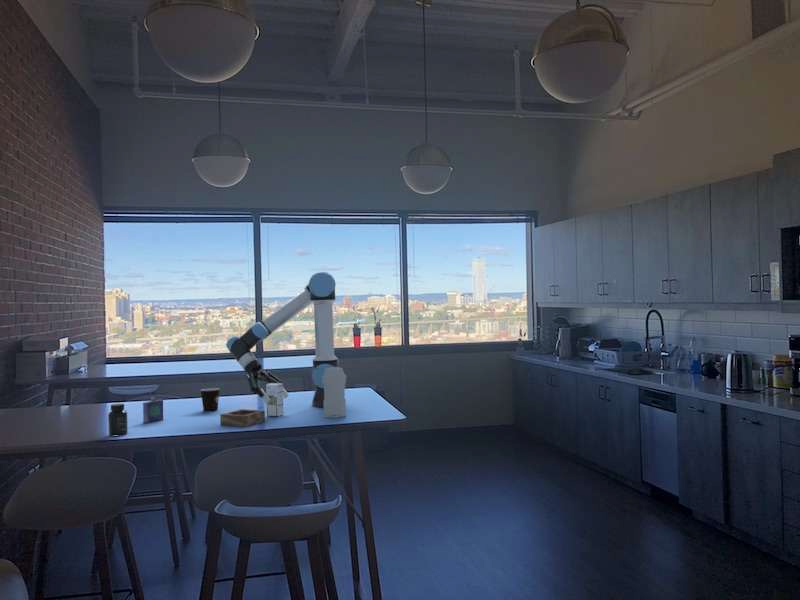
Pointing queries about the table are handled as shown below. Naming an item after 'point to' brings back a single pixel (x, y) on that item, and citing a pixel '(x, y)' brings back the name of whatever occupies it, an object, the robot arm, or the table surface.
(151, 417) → the flask
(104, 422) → the table surface
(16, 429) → the table surface
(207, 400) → the coffee mug
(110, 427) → the supplement bottle
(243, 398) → the table surface
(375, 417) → the table surface
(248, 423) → the socket block
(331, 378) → the tall pale column
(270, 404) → the white printed canister
